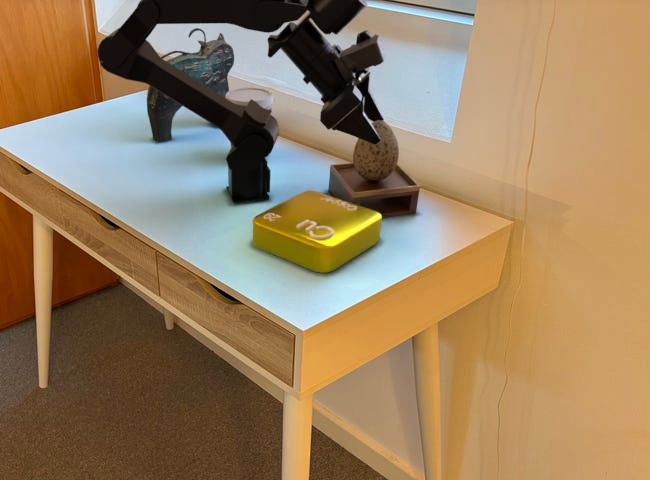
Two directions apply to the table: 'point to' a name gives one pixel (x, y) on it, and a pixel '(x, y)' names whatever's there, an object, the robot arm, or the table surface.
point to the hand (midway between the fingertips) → (379, 131)
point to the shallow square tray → (375, 190)
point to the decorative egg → (377, 154)
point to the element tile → (316, 230)
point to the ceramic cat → (201, 66)
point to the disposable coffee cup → (251, 97)
